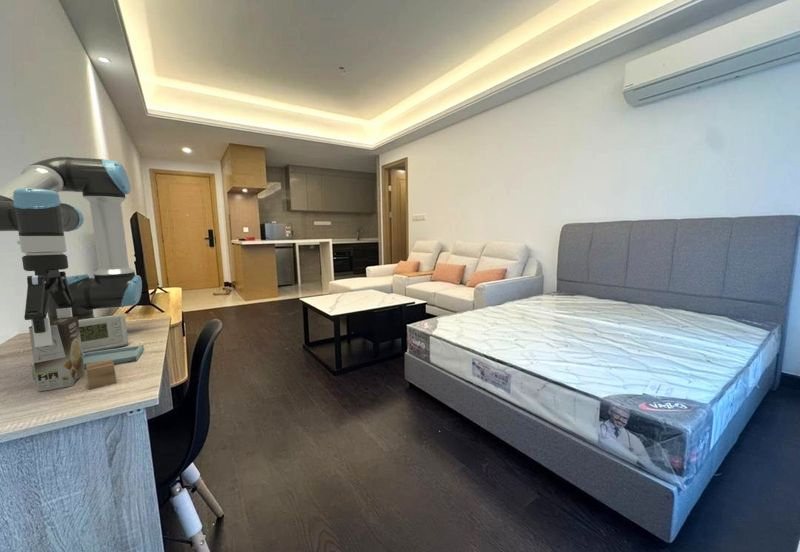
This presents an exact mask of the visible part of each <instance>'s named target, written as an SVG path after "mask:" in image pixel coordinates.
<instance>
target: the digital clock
mask: <svg viewBox="0 0 800 552" xmlns="http://www.w3.org/2000/svg"><path fill="white" fill-rule="evenodd" d="M78 322H79V330H80V337H81V345H82V353H88V352H96V351H103V350H110V349H117V348H122V347H126V346H127V345H129V337H128V336H129V335H128V330H127V329H128V328H127V323H126V317H125V315H124V314H115V315H106V316H98V317H95V318H89V319H81V320H78Z"/></svg>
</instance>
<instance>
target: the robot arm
mask: <svg viewBox="0 0 800 552" xmlns="http://www.w3.org/2000/svg"><path fill="white" fill-rule="evenodd" d="M60 192H70V193H71V192H74V193H82V197H83V198H84V199H85V200H86V201H88V202H89V206H90V207H89V208H90V209H89V210H90V214H91V223H92V230H93V236H94V244H95V251H96V258H97V264H98V265H97V266H98V269H97V270H96V271H95V272H94V273H93V277H90V275H89V274H86V273H85V274H76V275H72V276H71V275H70V276H67V275H66V271H64V270H66V269H68V268H69V261H68V255H66V254H65V253H66V252H67V250H68V249H67V244H66V239H65V233H66V232H67V233H68V232H69V233H70V232H73V231H76V230H79V229H80V228H81V227H82V226H83V224H84V222H85V221H84V220H85V218H84V215H83V213H82V212H81V211H80V209H78V208H77V207H76V206H73V205H71V204H69V203H65V202H62V201H61V200H60V196H59V193H60ZM130 193H131V183H130V179H129V176H128V174H127V172H126V169H125V167H124V166H123V165H122V164H121V163H120V162H119V161H116V160H110V159H104V158H88V157H87V158H86V157H85V158H84V157H71V156H58V157H57V156H55V157H52V158H46V159H43V160H40V161H39V160H38V161H36V162H34V163H31V164H30V165H28V166H26V167H25V168H23V169H22V171H21V175H19V176H18V177H16V178H14V179H12V180H10V181H9V182H7V183H6V184H4V185H2V186H1V187H0V232H18V237H19V240H17V242H16V244H17V245H20V250H21V251H20V252H21V253H23V254H25V255H22V257H21V260H22V269H23V271H25V272H34V275H28V276H27V278H26V280H27V281H26V283H27V288H26V289H27V291H26V298H25V310H24V320H25V321H31V326H32V329H33V336H34V343H35V347H40V346H48V345H52V344H53V342H52V335H51V328H50V321H49V319H57V318H66V317H78V320H81V319H89V318H96V317H95V315H94V310H99V309H101V310H102V309H107V308H108V309H111V308H125V307H133V306H135V305H137V304H139V301H140V299H141V296H142V289H143V284H142V283H143V280H142V277H141V276H140V275H137V274H136V272H135V269H133V268H131V267H130V264H129V256H128V250H127V249H128V248H127V241H126V232H125V225H124V218H123V209H122V203H123V202H124V201H126V199H127V198H126V195H129V194H130ZM60 270H63V271H60Z"/></svg>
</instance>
